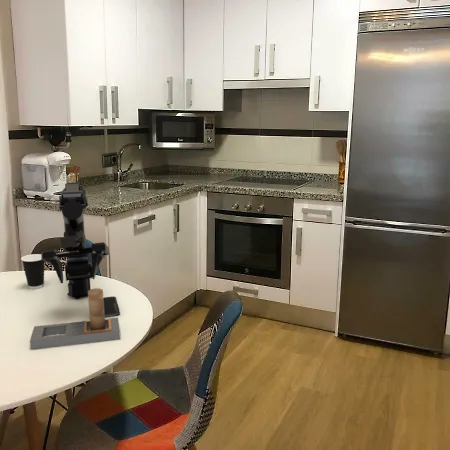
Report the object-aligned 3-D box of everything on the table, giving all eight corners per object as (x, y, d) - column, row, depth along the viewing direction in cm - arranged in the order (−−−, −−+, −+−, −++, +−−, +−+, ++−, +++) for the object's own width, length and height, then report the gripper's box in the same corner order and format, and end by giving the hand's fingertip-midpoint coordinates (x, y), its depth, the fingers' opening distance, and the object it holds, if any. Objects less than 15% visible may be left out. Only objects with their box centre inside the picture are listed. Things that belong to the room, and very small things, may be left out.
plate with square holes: (30, 349, 126) (29, 339, 125) (34, 334, 134) (33, 325, 134) (120, 339, 132) (119, 329, 131) (118, 325, 140) (118, 316, 140)
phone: (93, 316, 144) (91, 298, 158) (94, 320, 145) (92, 301, 159) (120, 313, 147) (116, 295, 161) (120, 316, 147) (116, 299, 161)
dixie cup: (51, 286, 171) (49, 257, 169) (29, 292, 166) (26, 262, 164) (42, 281, 177) (39, 252, 174) (20, 286, 172) (17, 257, 169)
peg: (96, 330, 137) (93, 287, 134) (108, 332, 136) (105, 289, 133) (88, 336, 133) (84, 292, 130) (100, 338, 132) (97, 294, 129)
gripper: (33, 227, 137) (35, 280, 133) (99, 218, 138) (103, 271, 134) (46, 237, 148) (49, 287, 143) (107, 229, 149) (111, 278, 144)
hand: (77, 281), depth 141 cm, fingers open, 9 cm apart
